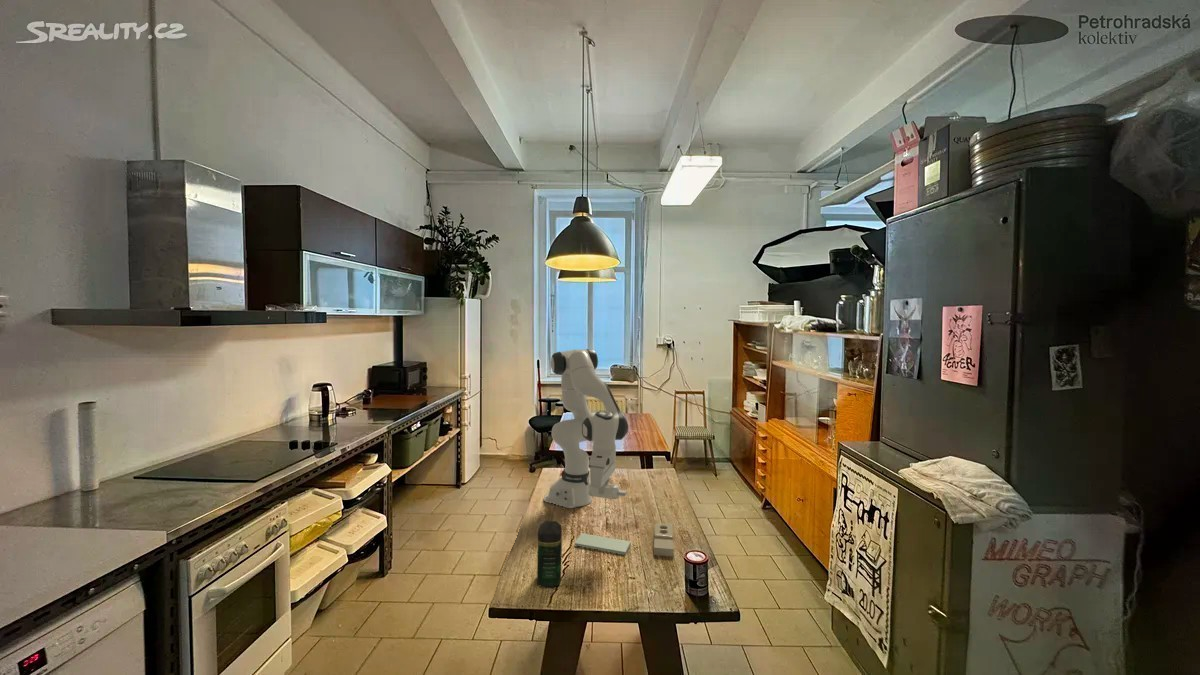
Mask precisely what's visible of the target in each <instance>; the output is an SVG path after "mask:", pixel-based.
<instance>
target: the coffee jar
mask: <svg viewBox="0 0 1200 675" xmlns="http://www.w3.org/2000/svg"><path fill="white" fill-rule="evenodd" d="M562 532H563V530H562V525H561V524H560V523H559V522H557V520H545V521H544V522H542V523H541V524H540V525H539V527H538V530H537V569H536V570H537V572H536V577H537V578H536V582H537V585H538V586H539V587H543V588H547V587H549V588H553V587H557V586H559V584H560V583H561V579H562V557H563V556H562V555H563V553H562V551H563V540H562V538H563V536H562V535H563V534H562Z"/></svg>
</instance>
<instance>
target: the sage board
mask: <svg viewBox="0 0 1200 675" xmlns="http://www.w3.org/2000/svg"><path fill="white" fill-rule="evenodd" d="M575 545H576V546H575ZM631 545H632V541H631V540H630V541H629V540H623V539H617V538H612V537H607V536H606V537H605V536H599V535H596V534H595V535H594V534H589V533H584V532H583V533H582V532H581V533H580V535H579V536H578V537H577V539H576V540H575V541H574V546H575V547H577V546H582V547H581V548H583V547H586V548H585V549H588V548H593V549H592V550H594V549H598V550H597V551H599V550H603V551H602V552H605V551H609V552H608V553H610V552H613V553H612V554H616V553H617V555H621V554H622V556H626V555H627V553H628V551H629V549H630V547H631Z"/></svg>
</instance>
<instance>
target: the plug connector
mask: <svg viewBox="0 0 1200 675" xmlns="http://www.w3.org/2000/svg"><path fill="white" fill-rule="evenodd" d="M603 487H604V493H603V495H601V494H599V490H598V488H593V487H592V486H591V482H590V481H589V484H588V495H590V496H591V497H594V498H595V497H596V498H603V499H610V500H618V499H619V498H620V497H626V495H627V494H628V493H627V490H623V489H620V485H618V484H612V483H608V484H607V483H604V486H603Z"/></svg>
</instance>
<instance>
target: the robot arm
mask: <svg viewBox="0 0 1200 675" xmlns="http://www.w3.org/2000/svg"><path fill="white" fill-rule="evenodd" d="M549 364H550V368H551V371H552V372H553V373H554V374H555V375H558V376H561V380H560V384H561V396H562V399H561V400H562V406H563V407H564V409H565V410H567V411H568V412H571V413H572V415H573V418H572V419H566V420H562V421H561V420H560V421H558V422H557V423H554V425H552V429H551V437H552V438H551V439H552V440H553V442H555V443H556V444H557V445H558V446H560V448H561V449H562V452H563V455H564V466H565V468H563V470H562V471H561V472H560V474H559V476H560V478H558V480H556V481H554V482H553V483H552V484H551V485H550V488H549V491H548V492H547V493H546V494H545V496H544V498H543V502H544V501H545V502H544V503H547V502H549V503H548V504H551V503H553V504H552V505H554V504H556V506H558V505H559V506H558V507H562V506H563V508H566V509H573V508H577V507H583V506H587V505H589V504H591V503H592V501H593V500H592V496H590V495H588V484H589V483H590V482H591V486H592V487H593V488H598V490H599V494H601V495H603V493H604V487H603V486H604V483H607V484H610V479H611V476H612V475H613V474H614V473H615V471H616V460H617V459H616V456H617V455H616V454H617V451H616V450H617V447H616V441H621V440H623V439H624V438H625V437H626V436H627V434H628V432H629V424H628V421H627V419H626V417H625V416H624V414H623V413H622V411H621V409H620V407H619V405H618V403H617V401H616V399H615V397H614V395H613V393H612V391H611V389H610V387H609V385H607V383H606V382H605V381H604V380H602V379H601V378H600V377H599V376H598V374H597V372H596V369H597V368H598V364H599V357H598V353H597V352H596V351H595V350H594V349H589V348H586V349H572V350H566V351H557V352H554V353H553V354H552V355H551V358H550V363H549ZM587 396H588V397H592V398H594V399H597V400H599V401H600V402H601V403H602V404H603V407H604V409H605V410H599V411H597V412H595V413H594V414H593V413H592V412H591V410H590V408H589V405H588V402H587ZM587 441H588V442H592V452H591V455H589V454H588V453H587V451H586V450H584V449H581V448H580V443H582V442H587ZM589 467H590V469H589Z"/></svg>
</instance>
